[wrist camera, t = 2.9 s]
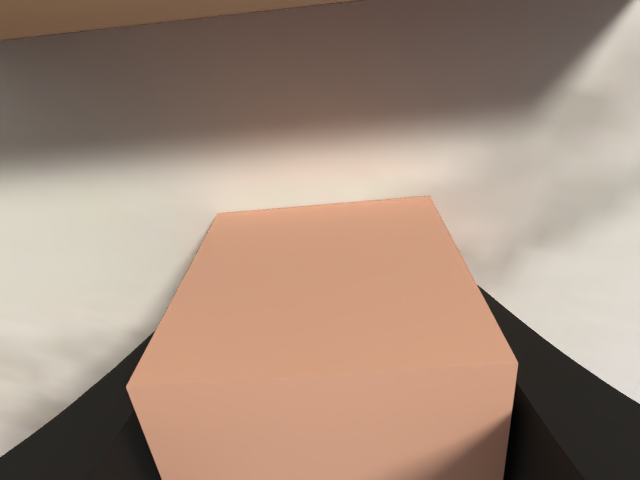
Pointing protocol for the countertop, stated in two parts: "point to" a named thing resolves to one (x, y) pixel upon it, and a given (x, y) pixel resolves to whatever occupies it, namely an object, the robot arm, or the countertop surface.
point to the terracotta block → (327, 353)
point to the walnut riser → (121, 13)
